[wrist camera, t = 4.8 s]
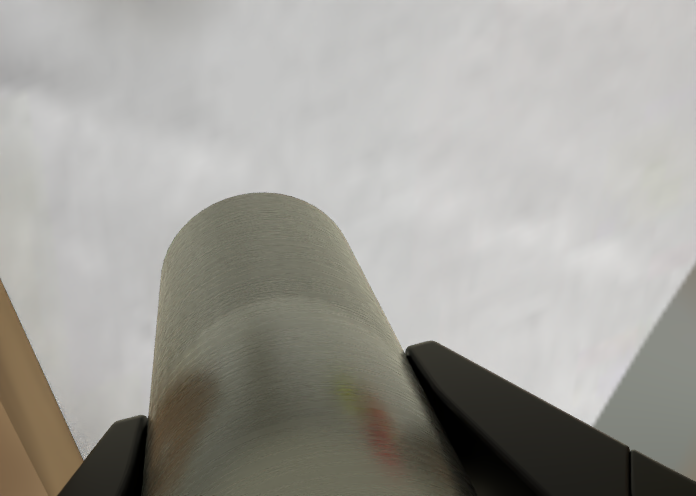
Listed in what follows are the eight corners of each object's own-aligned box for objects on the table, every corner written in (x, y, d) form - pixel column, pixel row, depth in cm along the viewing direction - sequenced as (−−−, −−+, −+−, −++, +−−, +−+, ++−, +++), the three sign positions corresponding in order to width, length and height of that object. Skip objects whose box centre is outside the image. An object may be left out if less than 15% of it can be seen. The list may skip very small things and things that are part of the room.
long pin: (189, 382, 13) (186, 1374, 4) (135, 217, 11) (-78, 1285, 2) (365, 337, 13) (717, 1139, 4) (339, 173, 12) (808, 920, 3)
